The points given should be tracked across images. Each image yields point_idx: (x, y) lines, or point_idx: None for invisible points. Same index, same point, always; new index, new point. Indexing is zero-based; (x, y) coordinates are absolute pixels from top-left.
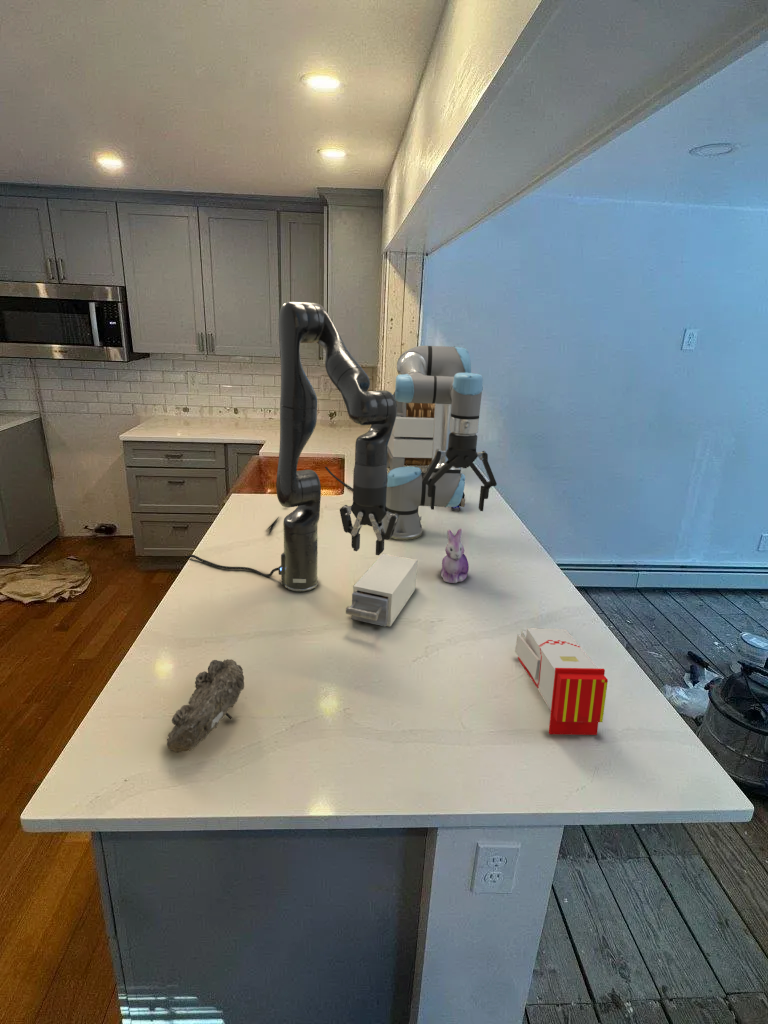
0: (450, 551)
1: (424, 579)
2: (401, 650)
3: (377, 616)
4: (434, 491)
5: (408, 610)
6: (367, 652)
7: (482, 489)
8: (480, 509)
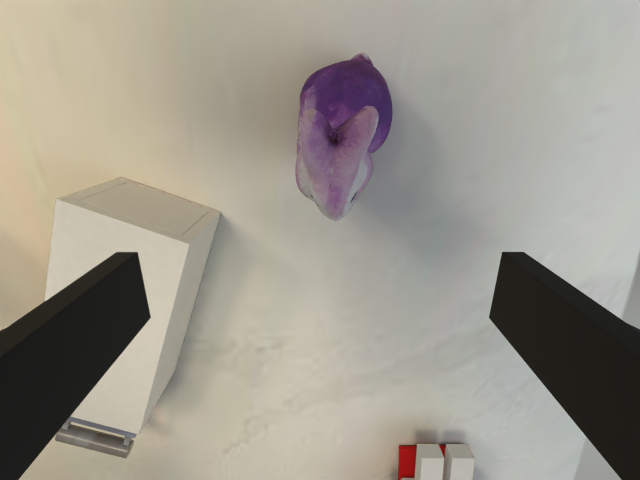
0: (311, 199)
1: (247, 148)
2: (203, 430)
3: (130, 447)
4: (39, 441)
5: (208, 311)
6: (146, 436)
7: (627, 472)
8: (495, 321)
